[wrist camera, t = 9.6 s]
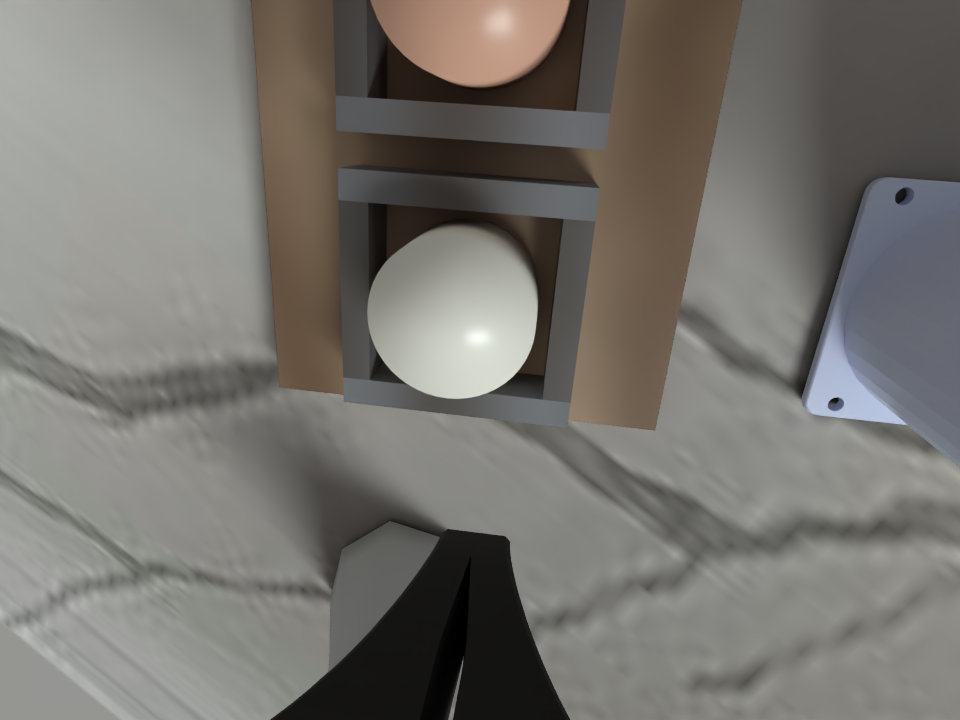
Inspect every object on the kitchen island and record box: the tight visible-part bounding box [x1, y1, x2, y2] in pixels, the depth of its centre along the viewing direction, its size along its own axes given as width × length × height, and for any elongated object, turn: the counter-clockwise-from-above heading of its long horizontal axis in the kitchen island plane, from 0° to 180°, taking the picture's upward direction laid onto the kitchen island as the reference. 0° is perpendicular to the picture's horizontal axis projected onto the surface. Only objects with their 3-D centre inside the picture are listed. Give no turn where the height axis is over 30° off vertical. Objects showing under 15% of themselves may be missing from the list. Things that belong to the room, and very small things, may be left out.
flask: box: [328, 521, 440, 672], centre depth 22 cm, size 7×7×10 cm
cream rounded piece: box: [367, 219, 539, 399], centre depth 18 cm, size 5×5×3 cm
